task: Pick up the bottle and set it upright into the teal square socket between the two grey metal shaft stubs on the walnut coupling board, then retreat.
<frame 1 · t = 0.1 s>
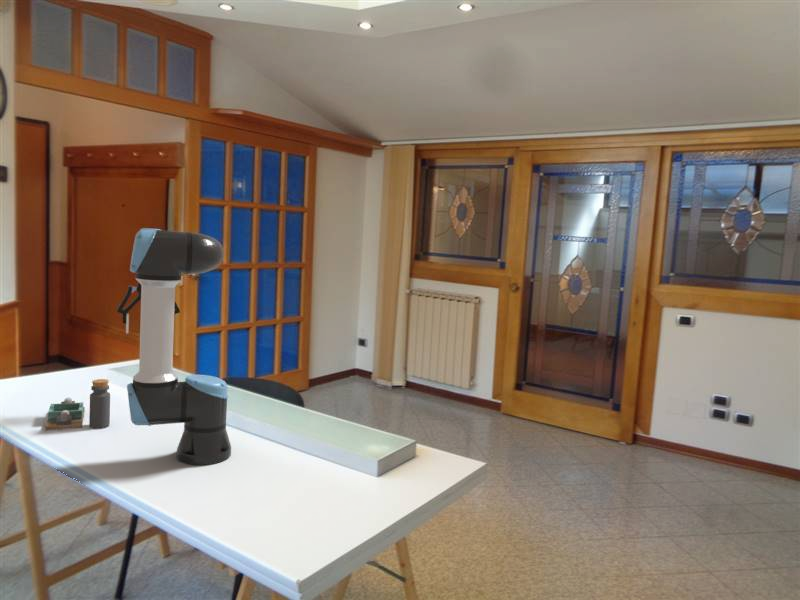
hand: (148, 332, 206), 28 cm above the table, fingers open, 13 cm apart
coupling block: (66, 419, 193), on the table
bottle: (99, 426, 189), on the table
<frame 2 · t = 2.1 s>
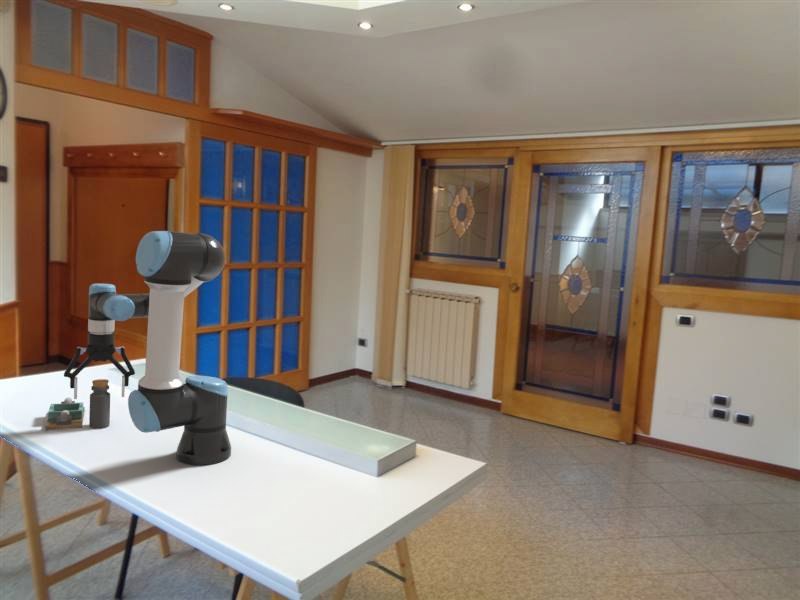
hand: (99, 397, 188), 10 cm above the table, fingers open, 13 cm apart
nothing on the table moved.
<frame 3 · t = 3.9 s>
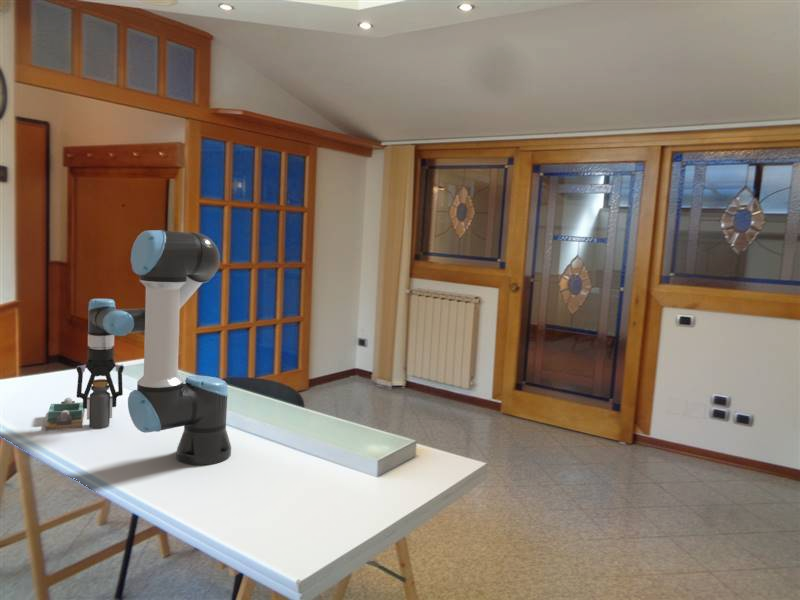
hand: (99, 417, 189), 3 cm above the table, fingers closed on bottle, 6 cm apart
bottle: (99, 426, 189), on the table, touching gripper
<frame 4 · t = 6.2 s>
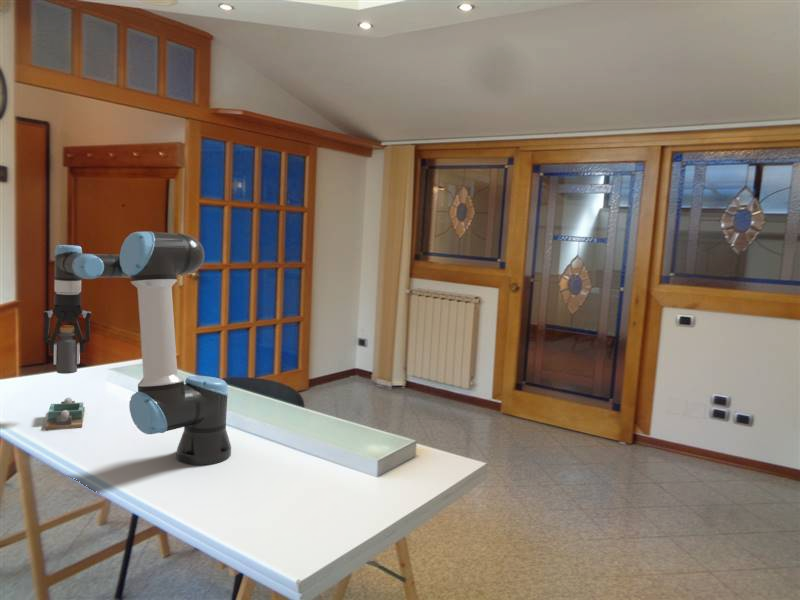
hand: (66, 363, 191), 19 cm above the table, fingers closed on bottle, 6 cm apart
bottle: (66, 372, 191), point 16 cm above the table, touching gripper
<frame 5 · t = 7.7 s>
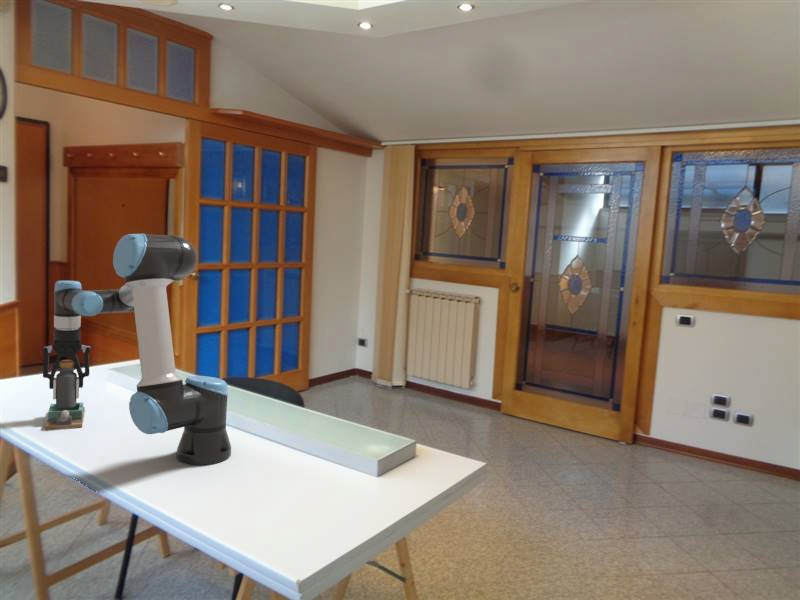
hand: (66, 397, 192), 7 cm above the table, fingers closed on bottle, 6 cm apart
bottle: (66, 406, 192), point 4 cm above the table, touching gripper
when the fingers open (5 cm above the table, at t = 8.9 s): bottle drops 1 cm, resting on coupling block.
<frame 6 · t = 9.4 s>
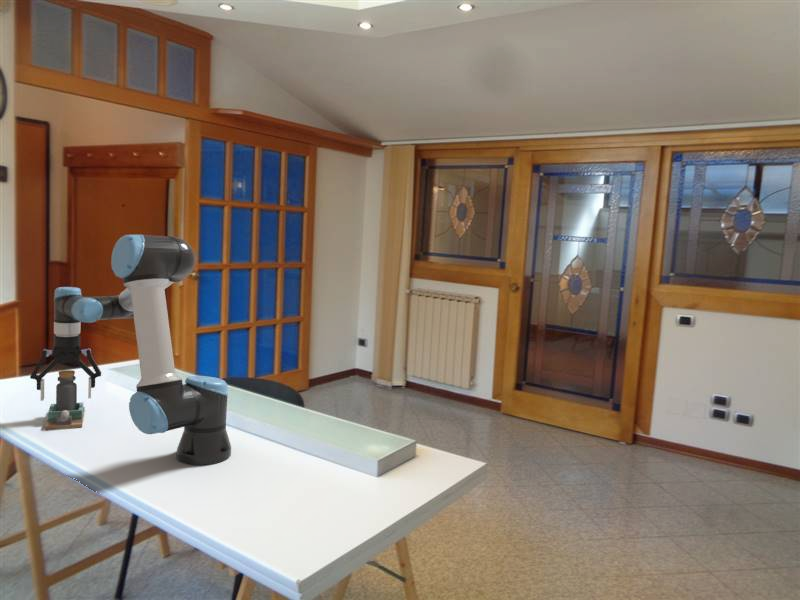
hand: (66, 398, 192), 7 cm above the table, fingers open, 13 cm apart
bottle: (66, 416, 193), point 1 cm above the table, touching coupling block
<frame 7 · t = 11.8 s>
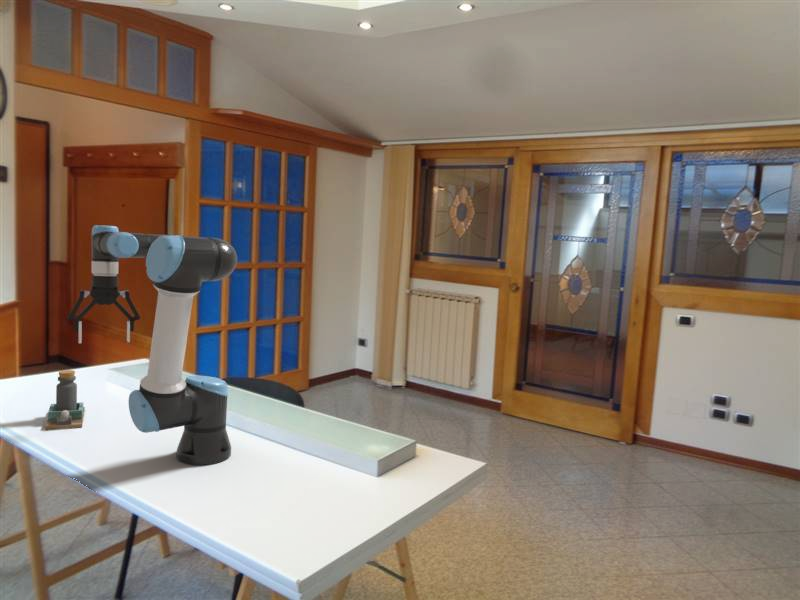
hand: (104, 342, 184), 28 cm above the table, fingers open, 13 cm apart
nothing on the table moved.
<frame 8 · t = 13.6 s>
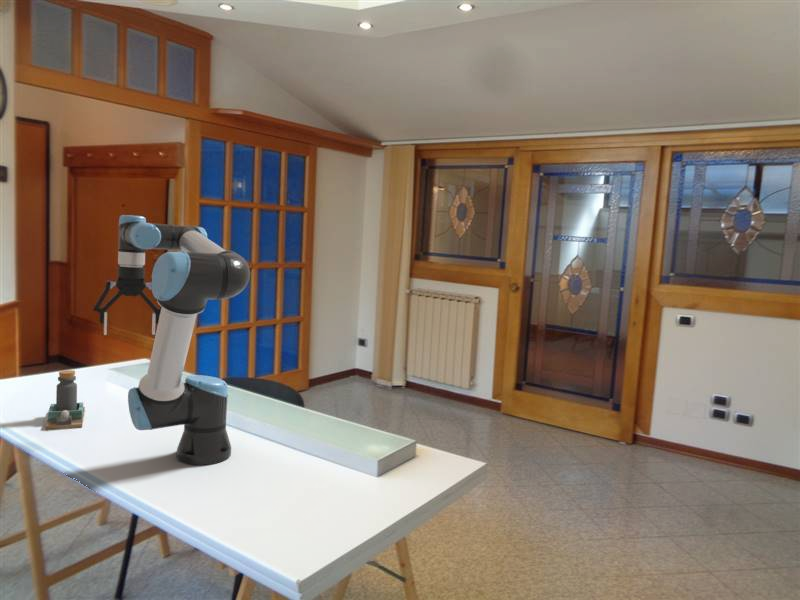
hand: (129, 334, 181), 32 cm above the table, fingers open, 13 cm apart
nothing on the table moved.
at the end: bottle 0.1 cm from the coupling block (horizontally); bottle tilted 0°; the gripper is holding nothing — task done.
